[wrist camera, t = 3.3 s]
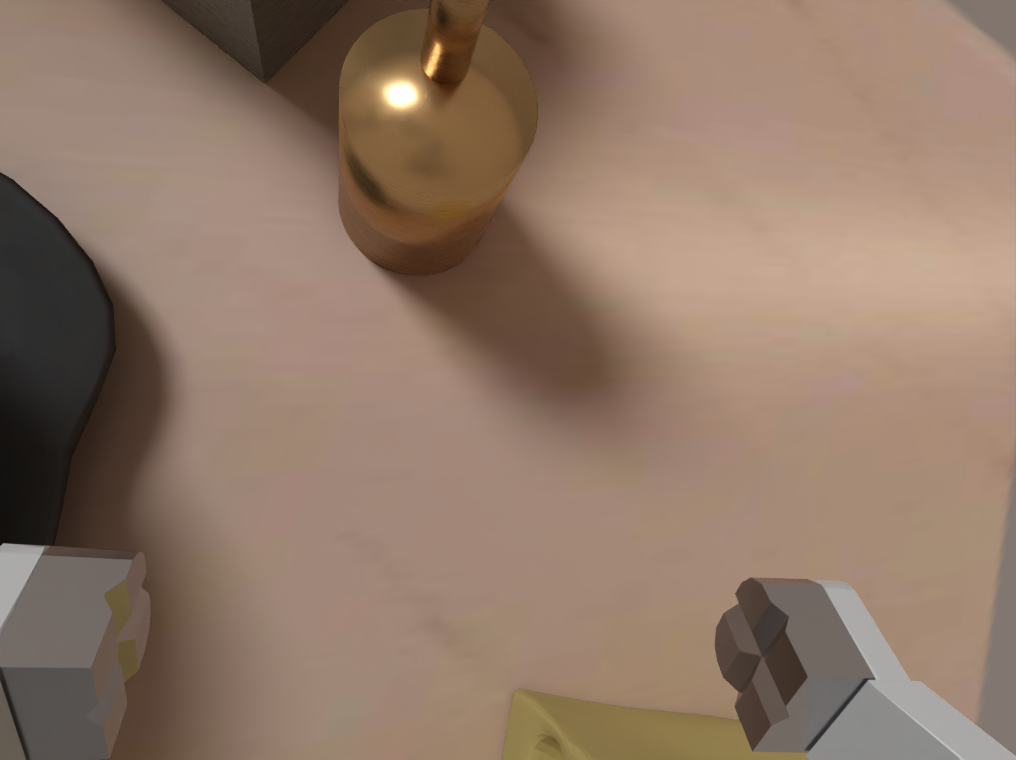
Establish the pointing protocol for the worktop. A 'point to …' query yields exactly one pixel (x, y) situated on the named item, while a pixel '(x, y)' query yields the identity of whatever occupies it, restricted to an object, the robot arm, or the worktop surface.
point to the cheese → (621, 733)
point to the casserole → (44, 361)
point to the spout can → (430, 134)
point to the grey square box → (258, 27)
